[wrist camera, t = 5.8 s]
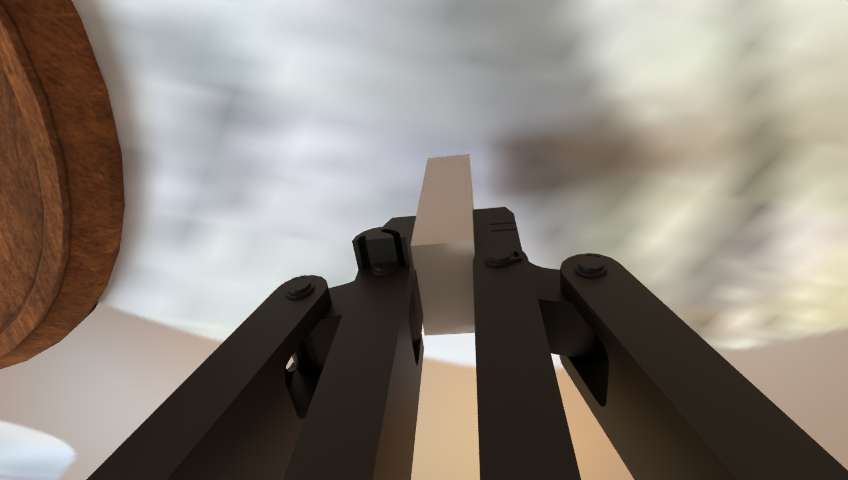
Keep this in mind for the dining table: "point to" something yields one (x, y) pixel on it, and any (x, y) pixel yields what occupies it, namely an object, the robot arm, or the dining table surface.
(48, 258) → the cutting board
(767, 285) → the dining table surface
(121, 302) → the dining table surface
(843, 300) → the dining table surface
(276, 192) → the dining table surface
